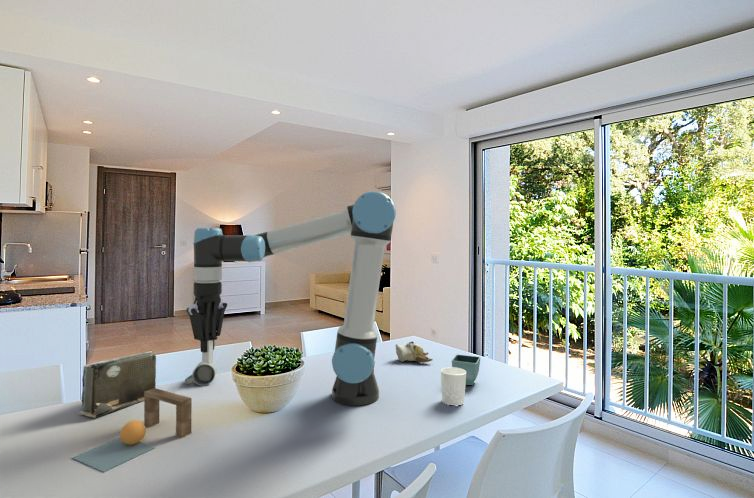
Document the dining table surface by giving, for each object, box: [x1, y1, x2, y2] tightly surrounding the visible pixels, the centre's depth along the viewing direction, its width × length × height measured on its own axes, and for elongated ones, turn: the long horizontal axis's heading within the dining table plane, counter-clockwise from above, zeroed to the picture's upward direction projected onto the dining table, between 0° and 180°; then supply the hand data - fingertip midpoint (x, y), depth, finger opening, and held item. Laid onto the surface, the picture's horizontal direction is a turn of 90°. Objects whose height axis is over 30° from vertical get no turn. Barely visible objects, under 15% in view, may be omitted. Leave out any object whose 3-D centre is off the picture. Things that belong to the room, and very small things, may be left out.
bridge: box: [143, 387, 193, 439], centre depth 112 cm, size 3×14×9 cm, turn 63°
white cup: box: [440, 366, 466, 406], centre depth 134 cm, size 8×8×10 cm
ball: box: [119, 420, 147, 445], centre depth 104 cm, size 6×6×6 cm
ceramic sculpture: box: [395, 341, 433, 364], centre depth 177 cm, size 11×9×15 cm
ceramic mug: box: [184, 361, 218, 386], centre depth 148 cm, size 10×8×7 cm
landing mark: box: [71, 436, 155, 473], centre depth 100 cm, size 12×12×1 cm
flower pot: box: [451, 354, 481, 386], centre depth 151 cm, size 9×9×9 cm
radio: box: [78, 350, 157, 419], centre depth 128 cm, size 23×9×15 cm, turn 153°
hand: (207, 362), depth 123 cm, fingers closed
